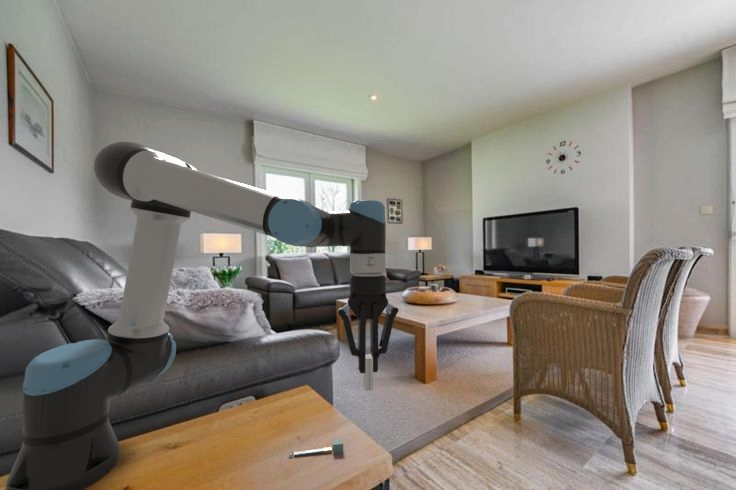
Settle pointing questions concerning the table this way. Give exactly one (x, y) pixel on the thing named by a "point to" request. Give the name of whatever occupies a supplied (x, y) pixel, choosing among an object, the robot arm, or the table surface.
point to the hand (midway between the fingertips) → (368, 387)
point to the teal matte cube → (337, 446)
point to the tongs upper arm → (311, 452)
